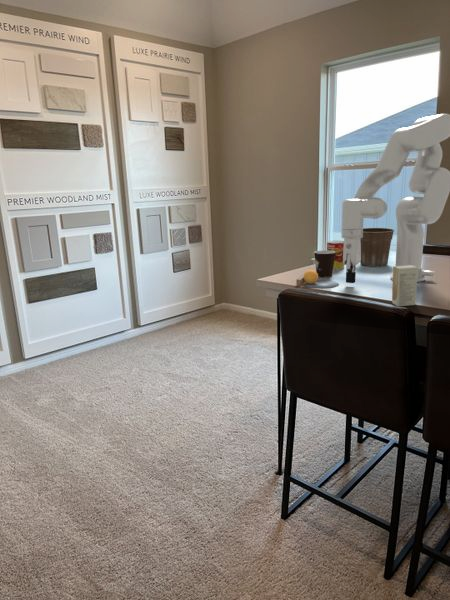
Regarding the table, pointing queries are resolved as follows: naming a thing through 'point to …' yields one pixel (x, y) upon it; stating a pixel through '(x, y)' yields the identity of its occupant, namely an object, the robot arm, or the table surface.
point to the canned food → (337, 253)
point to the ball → (310, 276)
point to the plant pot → (375, 246)
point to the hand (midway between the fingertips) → (350, 282)
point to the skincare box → (404, 285)
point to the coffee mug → (324, 263)
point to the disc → (323, 284)
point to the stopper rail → (300, 281)
